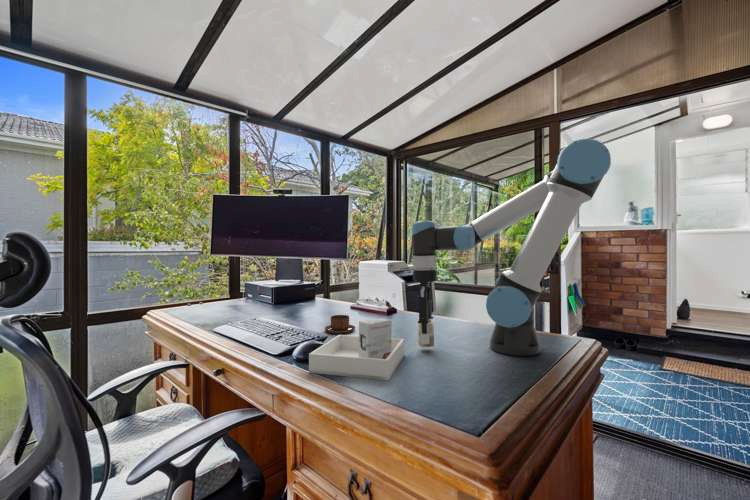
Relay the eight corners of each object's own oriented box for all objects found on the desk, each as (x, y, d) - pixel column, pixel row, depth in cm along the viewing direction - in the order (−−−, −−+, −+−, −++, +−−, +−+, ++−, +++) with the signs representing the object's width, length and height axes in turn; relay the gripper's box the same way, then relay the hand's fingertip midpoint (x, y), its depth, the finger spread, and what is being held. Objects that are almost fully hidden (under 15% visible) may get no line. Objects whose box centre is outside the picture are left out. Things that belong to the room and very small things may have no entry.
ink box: (381, 357, 105) (381, 317, 104) (392, 361, 101) (392, 319, 101) (357, 363, 99) (357, 321, 99) (368, 368, 95) (368, 324, 95)
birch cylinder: (434, 343, 116) (434, 321, 116) (433, 347, 111) (432, 325, 111) (419, 342, 117) (419, 321, 117) (417, 346, 112) (417, 324, 112)
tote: (404, 355, 109) (404, 339, 109) (388, 380, 88) (388, 360, 88) (339, 350, 115) (338, 334, 115) (309, 372, 94) (308, 353, 94)
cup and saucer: (361, 332, 140) (361, 316, 139) (336, 337, 132) (336, 321, 132) (343, 327, 149) (343, 312, 148) (318, 331, 141) (318, 316, 141)
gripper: (417, 267, 124) (418, 334, 124) (408, 270, 107) (409, 348, 107) (438, 267, 122) (440, 335, 122) (433, 270, 105) (434, 349, 105)
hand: (426, 341), depth 114 cm, fingers closed on birch cylinder, 5 cm apart
